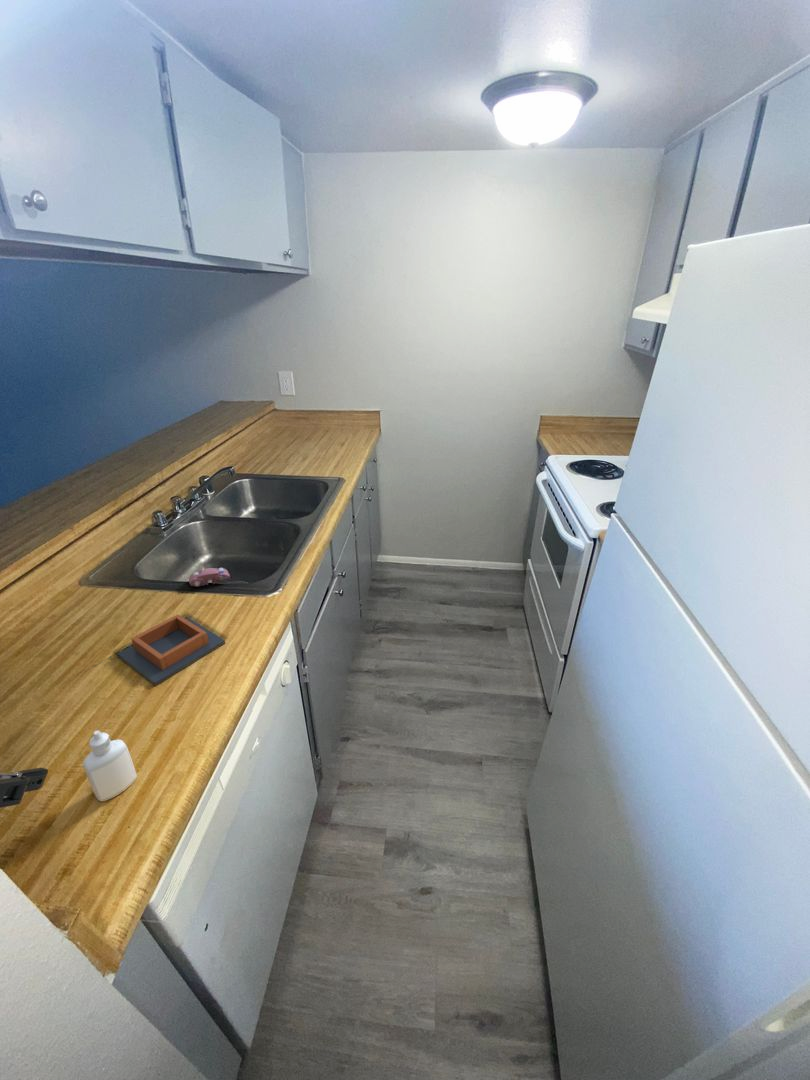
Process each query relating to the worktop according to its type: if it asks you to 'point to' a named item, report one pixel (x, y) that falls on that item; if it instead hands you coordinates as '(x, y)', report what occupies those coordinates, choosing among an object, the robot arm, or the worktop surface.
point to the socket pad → (169, 648)
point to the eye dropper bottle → (108, 766)
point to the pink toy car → (208, 576)
